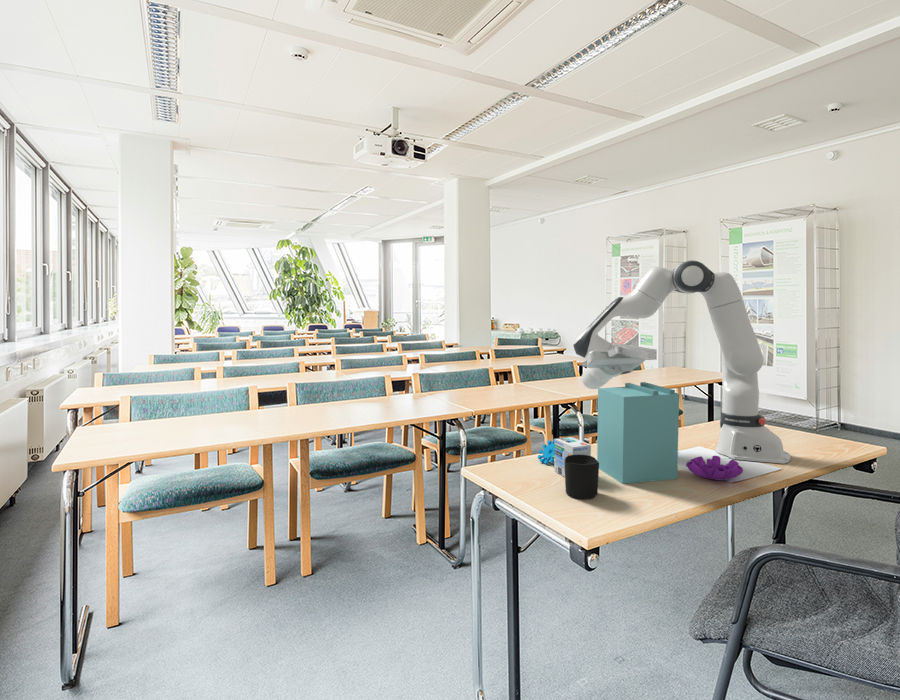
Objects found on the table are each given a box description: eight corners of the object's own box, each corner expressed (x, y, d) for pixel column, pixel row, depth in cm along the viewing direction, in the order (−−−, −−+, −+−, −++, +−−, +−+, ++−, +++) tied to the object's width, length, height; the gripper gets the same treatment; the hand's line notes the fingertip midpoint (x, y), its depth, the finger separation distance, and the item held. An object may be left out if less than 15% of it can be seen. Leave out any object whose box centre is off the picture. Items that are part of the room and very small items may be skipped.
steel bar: (614, 353, 177) (614, 344, 177) (622, 352, 178) (622, 344, 178) (647, 359, 158) (647, 350, 158) (656, 359, 158) (656, 349, 158)
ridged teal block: (597, 467, 171) (598, 384, 169) (647, 463, 175) (649, 381, 172) (622, 483, 156) (623, 392, 153) (677, 478, 159) (679, 389, 157)
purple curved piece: (693, 482, 166) (703, 454, 169) (744, 495, 154) (753, 465, 157) (679, 466, 160) (689, 438, 163) (730, 479, 148) (740, 448, 151)
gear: (531, 454, 181) (551, 433, 182) (542, 464, 183) (561, 443, 184) (547, 468, 171) (568, 445, 172) (557, 478, 173) (578, 456, 174)
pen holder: (604, 493, 149) (605, 458, 148) (588, 503, 142) (589, 466, 141) (574, 485, 155) (574, 452, 154) (558, 494, 148) (558, 460, 147)
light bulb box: (553, 471, 168) (553, 438, 167) (571, 468, 170) (571, 436, 169) (572, 482, 158) (572, 446, 157) (591, 479, 160) (591, 444, 159)
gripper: (578, 357, 184) (594, 340, 172) (631, 356, 188) (651, 339, 176) (581, 374, 182) (598, 358, 170) (635, 372, 186) (656, 356, 174)
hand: (625, 348), depth 173 cm, fingers closed on steel bar, 3 cm apart
